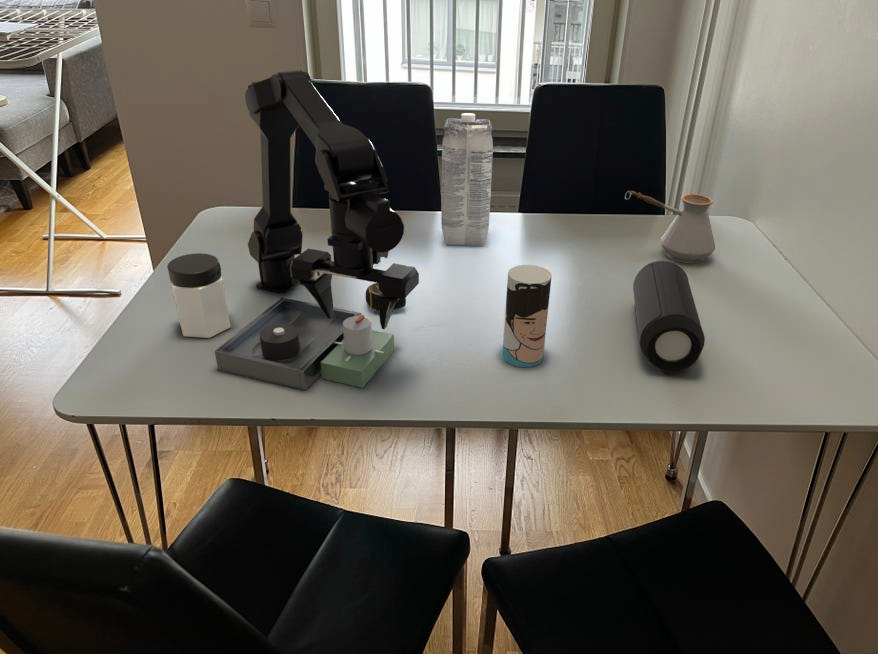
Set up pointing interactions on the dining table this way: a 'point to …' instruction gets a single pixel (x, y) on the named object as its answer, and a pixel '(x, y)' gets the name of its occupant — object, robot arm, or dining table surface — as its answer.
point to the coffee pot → (687, 228)
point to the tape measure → (373, 295)
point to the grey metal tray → (274, 370)
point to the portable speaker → (667, 317)
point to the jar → (199, 295)
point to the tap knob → (357, 335)
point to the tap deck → (357, 361)
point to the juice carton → (466, 180)
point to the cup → (526, 315)
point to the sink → (311, 335)
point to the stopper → (280, 341)
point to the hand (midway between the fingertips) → (357, 322)
